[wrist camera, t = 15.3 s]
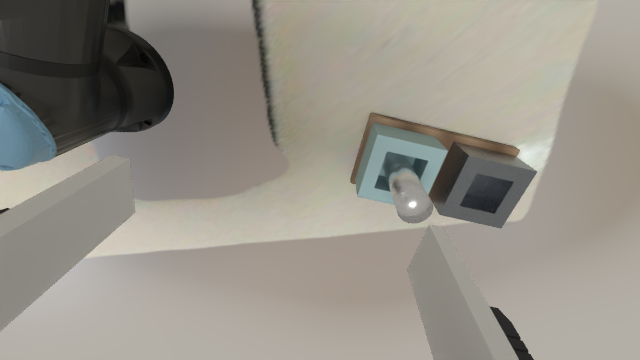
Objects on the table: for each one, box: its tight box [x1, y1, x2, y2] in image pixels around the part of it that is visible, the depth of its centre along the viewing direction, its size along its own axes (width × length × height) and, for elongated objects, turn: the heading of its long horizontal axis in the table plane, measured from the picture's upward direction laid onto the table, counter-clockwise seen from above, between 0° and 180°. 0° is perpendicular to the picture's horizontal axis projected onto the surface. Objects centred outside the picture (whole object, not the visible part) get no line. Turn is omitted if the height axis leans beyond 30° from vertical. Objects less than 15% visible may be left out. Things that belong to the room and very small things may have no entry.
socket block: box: [429, 141, 537, 228], centre depth 44 cm, size 10×10×6 cm
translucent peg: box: [382, 152, 433, 223], centre depth 39 cm, size 4×4×14 cm
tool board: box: [351, 113, 520, 201], centre depth 47 cm, size 24×12×2 cm, turn 77°
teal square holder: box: [355, 122, 448, 205], centre depth 44 cm, size 10×10×6 cm
